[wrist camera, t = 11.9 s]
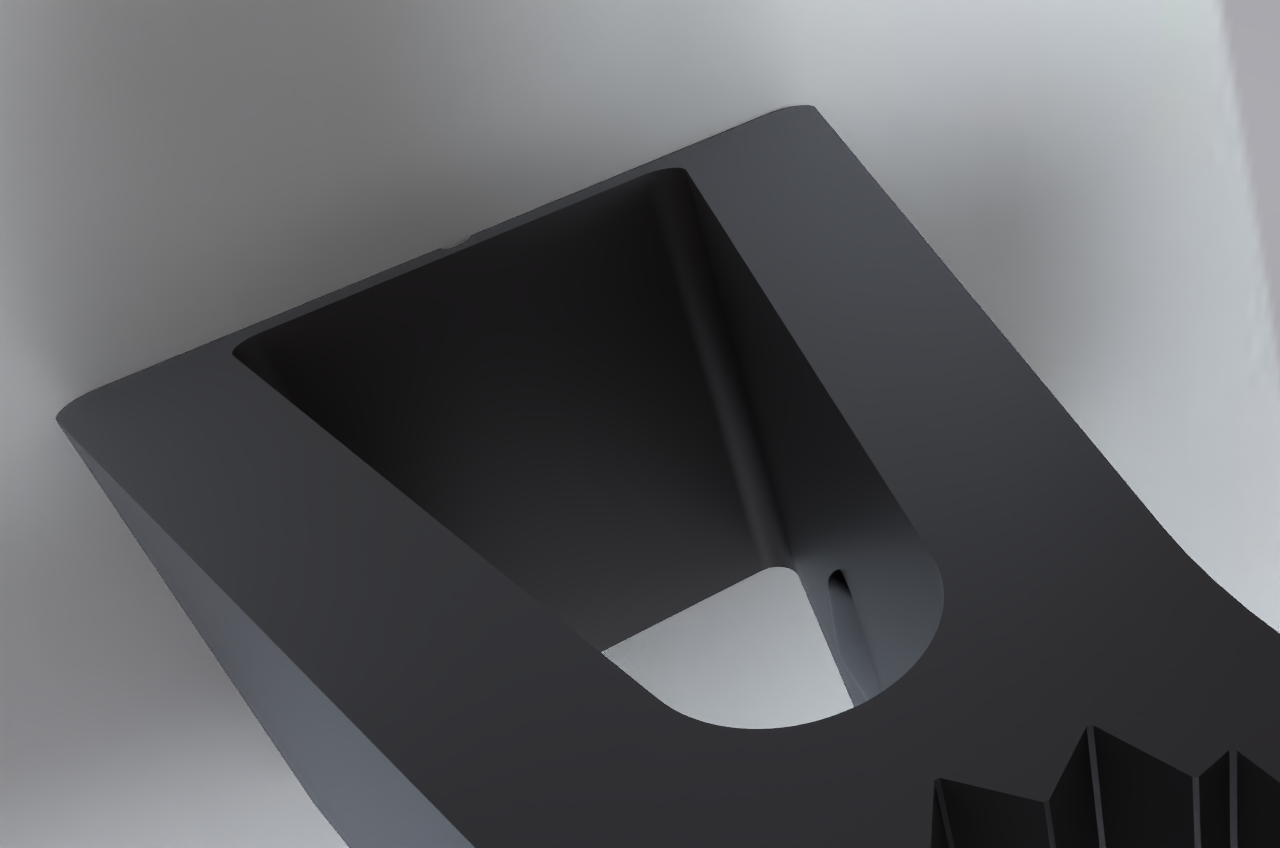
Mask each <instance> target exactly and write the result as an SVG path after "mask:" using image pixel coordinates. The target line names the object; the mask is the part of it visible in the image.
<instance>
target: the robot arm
mask: <svg viewBox="0 0 1280 848" xmlns="http://www.w3.org/2000/svg"><path fill="white" fill-rule="evenodd" d="M828 595H829V602H830V608H831V615H832V622H833V629H834V636H835V642H836V647H837V650H838V653H839V656H840V658H841V660H842V662H843V664H844V666H845V668H846V670H847V671H848V673H849V674H850V676H851V677H852V679H853V680H854V682H855V683H856V685H857V686H858V688H859V689H860V691H861V692H862V694H863V695H864V697H865V698H866V700H867V701H868V700H870V699H871V698H873V697H875V696H876V695H878V694H880V693H881V691H880V688H879V685H878V681H877V678H876V675H875V672H874V668H873V665H872V662H871V658H870V655H869V652H868V648H867V645H866V642H865V638H864V635H863V632H862V628H861V625H860V622H859V619H858V615H857V612H856V609H855V605H854V602H853V599H852V595H851V592H850V589H849V587H848V585H847V583H846V581H845V579H844V577H843V575H842V573H841V571H840V570H839V569H838V570H835V571H834V572H832V574H831V575H830V576H829V578H828Z"/></svg>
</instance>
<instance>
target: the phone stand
mask: <svg viewBox="0 0 1280 848" xmlns="http://www.w3.org/2000/svg"><path fill="white" fill-rule="evenodd" d="M56 421H57V422H58V424H59V425H60V427H61V428H62V430H63V431H64V433H65V434H66V436H67V437H68V439H69V440H70V442H71V443H72V445H73V446H74V448H75V449H76V451H77V452H78V454H79V455H80V456H81V458H82V459H83V461H84V462H85V464H86V465H87V467H88V468H89V470H90V471H91V473H92V474H93V476H94V477H95V479H96V480H97V482H98V483H99V485H100V486H101V488H102V489H103V491H104V492H105V494H106V495H107V497H108V498H109V500H110V501H111V503H112V504H113V506H114V507H115V508H116V510H117V511H118V513H119V514H120V516H121V517H122V519H123V520H124V522H125V523H126V525H127V526H128V528H129V529H130V531H131V532H132V534H133V535H134V537H135V538H136V540H137V541H138V543H139V544H140V546H141V547H142V549H143V550H144V552H145V553H146V555H147V556H148V558H149V559H150V560H151V562H152V563H153V565H154V566H155V568H156V569H157V571H158V572H159V574H160V575H161V577H162V578H163V580H164V581H165V583H166V584H167V586H168V587H169V589H170V590H171V592H172V593H173V595H174V596H175V598H176V599H177V601H178V602H179V604H180V605H181V607H182V608H183V609H184V611H185V612H186V614H187V615H188V617H189V618H190V620H191V621H192V623H193V624H194V626H195V627H196V629H197V630H198V632H199V633H200V635H201V636H202V638H203V639H204V641H205V642H206V644H207V645H208V647H209V648H210V650H211V651H212V653H213V654H214V656H215V657H216V659H217V660H218V661H219V663H220V664H221V666H222V667H223V669H224V670H225V672H226V673H227V675H228V676H229V678H230V679H231V681H232V682H233V684H234V685H235V687H236V688H237V690H238V691H239V693H240V694H241V696H242V697H243V699H244V700H245V702H246V703H247V705H248V706H249V708H250V709H251V711H252V712H253V713H254V715H255V716H256V718H257V719H258V721H259V722H260V724H261V725H262V727H263V728H264V730H265V731H266V733H267V734H268V736H269V737H270V739H271V740H272V742H273V743H274V745H275V746H276V748H277V749H278V751H279V752H280V754H281V755H282V757H283V758H284V760H285V761H286V763H287V764H288V765H289V767H290V768H291V770H292V771H293V773H294V774H295V776H296V777H297V779H298V780H299V782H300V783H301V785H302V786H303V788H304V789H305V791H306V792H307V794H308V795H309V797H310V798H311V800H312V801H313V803H314V804H315V805H316V807H317V808H318V809H319V810H320V812H321V813H322V814H323V815H324V817H325V818H326V819H327V820H328V822H329V823H330V824H331V825H332V826H333V828H334V829H335V830H336V831H337V833H338V834H339V835H340V836H341V838H342V839H343V840H344V841H345V843H346V844H347V845H348V846H349V848H1280V634H1279V633H1278V632H1277V631H1275V630H1274V629H1273V628H1271V627H1270V626H1269V625H1267V624H1266V623H1265V622H1264V621H1262V620H1261V619H1260V618H1258V617H1257V616H1256V615H1254V614H1253V613H1252V612H1250V611H1249V610H1248V609H1247V608H1245V607H1244V606H1243V605H1242V604H1241V603H1240V602H1238V601H1237V600H1236V599H1235V598H1234V597H1233V596H1231V595H1230V594H1229V593H1228V592H1227V591H1226V590H1224V589H1223V588H1222V587H1221V586H1220V585H1219V584H1217V583H1216V582H1215V581H1214V580H1213V579H1212V578H1211V577H1210V576H1209V575H1208V574H1207V573H1206V572H1205V571H1204V570H1203V569H1202V568H1201V567H1200V566H1199V565H1198V564H1197V563H1196V562H1194V561H1193V560H1192V559H1191V558H1190V557H1189V556H1188V555H1187V554H1186V553H1185V552H1184V550H1183V549H1182V548H1181V547H1180V546H1179V545H1178V544H1177V543H1176V541H1175V540H1174V539H1173V538H1172V537H1171V536H1170V535H1169V534H1168V533H1167V531H1166V530H1165V529H1164V528H1163V527H1162V526H1161V524H1160V523H1159V522H1158V521H1157V520H1156V518H1155V517H1154V516H1153V515H1152V514H1151V512H1150V511H1149V510H1148V509H1147V508H1146V506H1145V505H1144V504H1143V503H1142V502H1141V500H1140V499H1139V498H1138V497H1137V495H1136V494H1135V493H1134V492H1133V491H1132V489H1131V488H1130V487H1129V486H1128V485H1127V483H1126V482H1125V481H1124V480H1123V479H1122V477H1121V476H1120V475H1119V474H1118V473H1117V471H1116V470H1115V469H1114V468H1113V467H1112V465H1111V464H1110V463H1109V462H1108V460H1107V459H1106V458H1105V457H1104V456H1103V454H1102V453H1101V452H1100V451H1099V450H1098V448H1097V447H1096V446H1095V445H1094V444H1093V442H1092V441H1091V440H1090V439H1089V438H1088V436H1087V435H1086V434H1085V433H1084V432H1083V430H1082V429H1081V428H1080V427H1079V425H1078V424H1077V423H1076V422H1075V421H1074V419H1073V418H1072V417H1071V416H1070V415H1069V413H1068V412H1067V411H1066V410H1065V409H1064V407H1063V406H1062V405H1061V404H1060V403H1059V401H1058V400H1057V399H1056V398H1055V397H1054V395H1053V394H1052V393H1051V392H1050V390H1049V389H1048V388H1047V387H1046V386H1045V384H1044V383H1043V382H1042V381H1041V380H1040V378H1039V377H1038V376H1037V375H1036V374H1035V372H1034V371H1033V370H1032V369H1031V368H1030V366H1029V365H1028V364H1027V363H1026V362H1025V360H1024V359H1023V358H1022V357H1021V355H1020V354H1019V353H1018V352H1017V351H1016V349H1015V348H1014V347H1013V346H1012V345H1011V343H1010V342H1009V341H1008V340H1007V339H1006V337H1005V336H1004V335H1003V334H1002V333H1001V331H1000V330H999V329H998V328H997V327H996V325H995V324H994V323H993V322H992V320H991V319H990V318H989V317H988V316H987V314H986V313H985V312H984V311H983V310H982V308H981V307H980V306H979V305H978V304H977V302H976V301H975V300H974V299H973V298H972V296H971V295H970V294H969V293H968V292H967V290H966V289H965V288H964V287H963V285H962V284H961V283H960V282H959V281H958V279H957V278H956V277H955V276H954V275H953V273H952V272H951V271H950V270H949V269H948V267H947V266H946V265H945V264H944V263H943V261H942V260H941V259H940V258H939V257H938V255H937V254H936V253H935V252H934V250H933V249H932V248H931V247H930V246H929V244H928V243H927V242H926V241H925V240H924V238H923V237H922V236H921V235H920V234H919V232H918V231H917V230H916V229H915V228H914V226H913V225H912V224H911V223H910V222H909V220H908V219H907V218H906V217H905V215H904V214H903V213H902V212H901V211H900V209H899V208H898V207H897V206H896V205H895V203H894V202H893V201H892V200H891V199H890V197H889V196H888V195H887V194H886V193H885V191H884V190H883V189H882V188H881V187H880V185H879V184H878V183H877V182H876V180H875V179H874V178H873V177H872V176H871V174H870V173H869V172H868V171H867V170H866V168H865V167H864V166H863V165H862V164H861V162H860V161H859V160H858V159H857V158H856V156H855V155H854V154H853V153H852V151H851V150H850V149H849V148H848V147H847V145H846V144H845V143H844V142H843V141H842V139H841V138H840V137H839V136H838V135H837V133H836V132H835V131H834V130H833V129H832V127H831V126H830V125H829V124H828V123H827V121H826V120H825V119H824V118H823V116H822V115H821V114H820V113H819V112H818V110H817V109H816V108H815V107H814V106H809V105H802V106H794V107H789V108H785V109H781V110H778V111H775V112H772V113H769V114H767V115H764V116H762V117H759V118H757V119H755V120H752V121H750V122H747V123H745V124H742V125H740V126H738V127H735V128H733V129H730V130H728V131H725V132H723V133H720V134H718V135H716V136H713V137H711V138H708V139H706V140H703V141H701V142H698V143H696V144H694V145H691V146H689V147H686V148H684V149H681V150H679V151H676V152H674V153H672V154H669V155H667V156H664V157H662V158H659V159H657V160H655V161H652V162H650V163H647V164H645V165H642V166H640V167H637V168H635V169H633V170H630V171H628V172H625V173H623V174H620V175H618V176H615V177H613V178H611V179H608V180H606V181H603V182H601V183H598V184H596V185H594V186H591V187H589V188H586V189H584V190H581V191H579V192H576V193H574V194H572V195H569V196H567V197H564V198H562V199H559V200H557V201H554V202H552V203H550V204H547V205H545V206H542V207H540V208H537V209H535V210H533V211H530V212H528V213H525V214H523V215H520V216H518V217H515V218H513V219H511V220H508V221H506V222H503V223H501V224H498V225H496V226H493V227H491V228H489V229H486V230H484V231H481V232H479V233H476V234H474V235H472V236H471V238H470V239H469V240H468V241H467V242H465V243H464V244H462V245H459V246H457V247H454V248H450V249H437V250H435V251H432V252H430V253H428V254H425V255H423V256H420V257H418V258H415V259H413V260H410V261H408V262H406V263H403V264H401V265H398V266H396V267H393V268H391V269H389V270H386V271H384V272H381V273H379V274H376V275H374V276H371V277H369V278H367V279H364V280H362V281H359V282H357V283H354V284H352V285H349V286H347V287H345V288H342V289H340V290H337V291H335V292H332V293H330V294H328V295H325V296H323V297H320V298H318V299H315V300H313V301H310V302H308V303H306V304H303V305H301V306H298V307H296V308H293V309H291V310H288V311H286V312H284V313H281V314H279V315H276V316H274V317H271V318H269V319H267V320H264V321H262V322H259V323H257V324H254V325H252V326H249V327H247V328H245V329H242V330H240V331H237V332H235V333H232V334H230V335H227V336H225V337H223V338H220V339H218V340H215V341H213V342H210V343H208V344H205V345H203V346H201V347H198V348H196V349H193V350H191V351H188V352H186V353H184V354H181V355H179V356H176V357H174V358H171V359H169V360H166V361H164V362H162V363H159V364H157V365H154V366H152V367H149V368H147V369H144V370H142V371H140V372H137V373H135V374H132V375H130V376H127V377H125V378H123V379H120V380H118V381H115V382H113V383H110V384H108V385H105V386H103V387H101V388H98V389H96V390H93V391H91V392H89V393H87V394H85V395H83V396H81V397H79V398H78V399H76V400H74V401H73V402H71V403H70V404H68V405H67V406H66V407H64V408H63V409H62V410H61V411H60V412H59V413H58V414H57V416H56ZM771 567H786V568H790V569H792V570H794V571H795V572H796V573H797V574H798V576H799V578H800V580H801V583H802V585H803V587H804V590H805V592H806V594H807V597H808V599H809V601H810V604H811V606H812V609H813V611H814V613H815V616H816V618H817V620H818V623H819V625H820V627H821V630H822V632H823V634H824V637H825V639H826V642H827V644H828V646H829V649H830V651H831V653H832V656H833V658H834V660H835V663H836V665H837V667H838V670H839V672H840V675H841V677H842V679H843V682H844V684H845V686H846V689H847V691H848V693H849V696H850V698H851V700H852V703H853V705H854V708H852V709H850V710H847V711H845V712H842V713H840V714H837V715H834V716H831V717H829V718H825V719H822V720H819V721H815V722H811V723H807V724H802V725H797V726H790V727H784V728H773V729H740V728H731V727H724V726H718V725H713V724H709V723H705V722H702V721H699V720H696V719H693V718H690V717H688V716H686V715H683V714H681V713H679V712H677V711H675V710H673V709H672V708H670V707H669V706H667V705H665V704H664V703H663V702H661V701H660V700H659V699H657V698H656V697H655V696H654V695H652V694H651V693H650V692H649V691H647V690H646V689H645V688H644V687H642V686H641V685H640V684H639V683H637V682H636V681H635V680H634V679H633V678H631V677H630V676H629V675H628V674H626V673H625V672H624V671H623V670H621V669H620V668H619V667H618V666H616V665H615V664H614V663H613V662H611V661H610V660H609V659H608V658H607V657H605V656H604V655H603V654H602V653H600V652H602V651H604V650H606V649H608V648H610V647H612V646H614V645H616V644H617V643H619V642H621V641H623V640H625V639H627V638H629V637H631V636H633V635H635V634H637V633H639V632H641V631H643V630H645V629H647V628H649V627H651V626H653V625H655V624H657V623H659V622H661V621H663V620H665V619H667V618H669V617H671V616H673V615H675V614H677V613H679V612H681V611H683V610H685V609H687V608H689V607H691V606H693V605H695V604H697V603H698V602H700V601H702V600H704V599H706V598H708V597H710V596H712V595H714V594H716V593H718V592H720V591H722V590H724V589H726V588H728V587H730V586H732V585H734V584H736V583H738V582H740V581H742V580H744V579H746V578H748V577H750V576H752V575H754V574H756V573H758V572H760V571H762V570H764V569H767V568H771ZM838 569H839V570H840V571H841V573H842V575H843V577H844V579H845V581H846V583H847V585H848V587H849V589H850V592H851V595H852V599H853V602H854V605H855V609H856V612H857V615H858V619H859V622H860V625H861V628H862V632H863V635H864V638H865V642H866V645H867V648H868V652H869V655H870V658H871V662H872V665H873V668H874V672H875V675H876V678H877V681H878V685H879V688H880V691H881V693H880V694H878V695H876V696H875V697H873V698H871V699H870V700H868V701H867V700H866V698H865V697H864V695H863V694H862V692H861V691H860V689H859V688H858V686H857V685H856V683H855V682H854V680H853V679H852V677H851V676H850V674H849V673H848V671H847V670H846V668H845V666H844V664H843V662H842V660H841V658H840V656H839V653H838V650H837V647H836V642H835V636H834V629H833V622H832V615H831V608H830V602H829V595H828V578H829V576H830V575H831V574H832V572H834V571H835V570H838Z"/></svg>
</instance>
